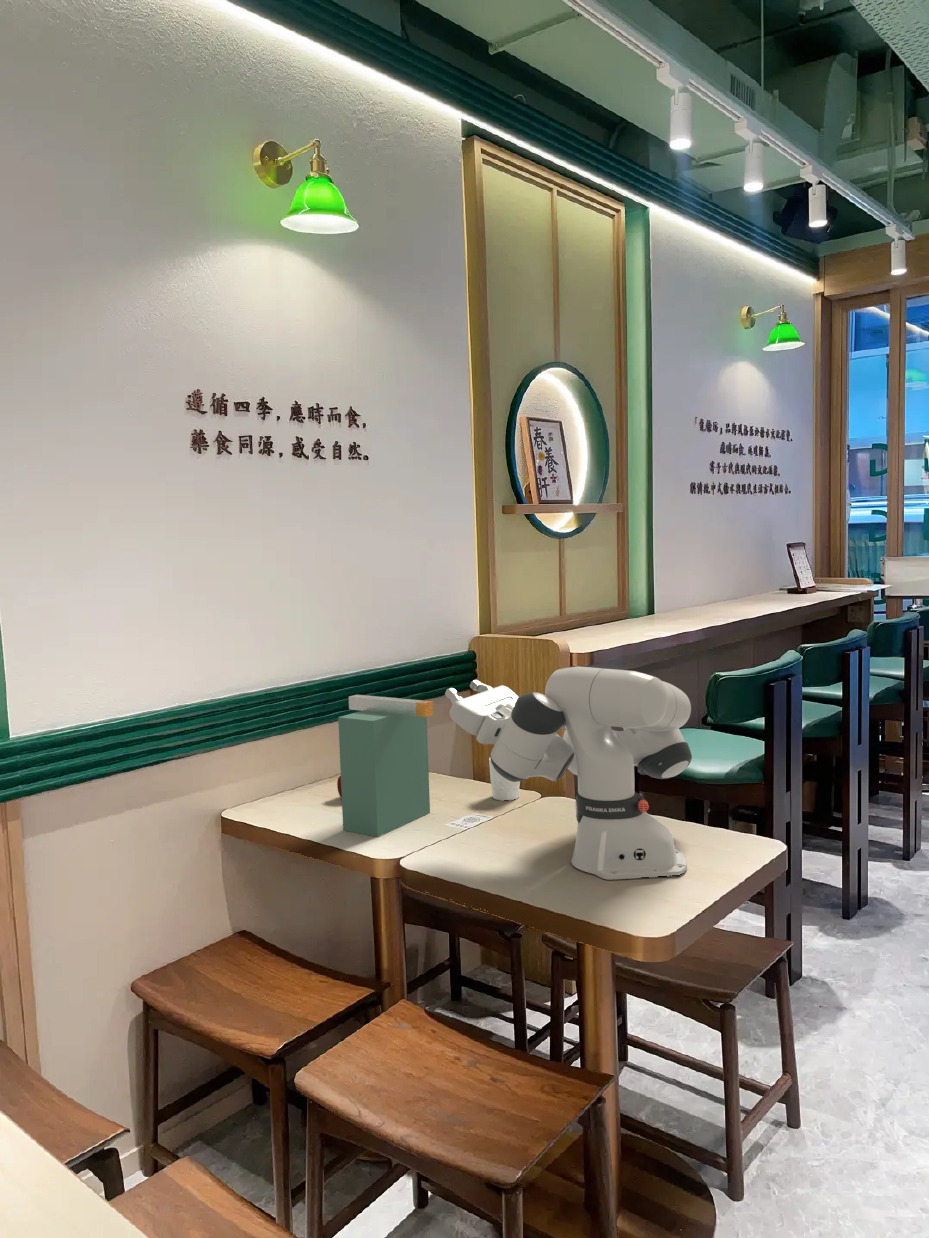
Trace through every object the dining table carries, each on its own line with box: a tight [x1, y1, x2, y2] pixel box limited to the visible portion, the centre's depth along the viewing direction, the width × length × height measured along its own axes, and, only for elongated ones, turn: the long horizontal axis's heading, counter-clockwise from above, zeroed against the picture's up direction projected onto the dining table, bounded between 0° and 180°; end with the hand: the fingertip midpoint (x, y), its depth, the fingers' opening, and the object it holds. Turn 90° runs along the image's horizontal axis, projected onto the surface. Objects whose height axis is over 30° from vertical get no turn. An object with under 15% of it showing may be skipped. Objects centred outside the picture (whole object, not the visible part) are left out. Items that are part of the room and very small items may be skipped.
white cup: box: [488, 757, 521, 802], centre depth 233 cm, size 8×8×10 cm
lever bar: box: [348, 694, 434, 718], centre depth 213 cm, size 22×3×3 cm, turn 57°
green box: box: [337, 710, 431, 838], centre depth 215 cm, size 10×20×26 cm, turn 147°
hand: (460, 686), depth 203 cm, fingers open, 8 cm apart
